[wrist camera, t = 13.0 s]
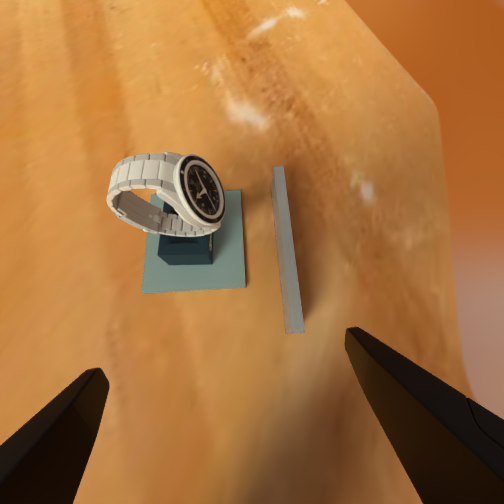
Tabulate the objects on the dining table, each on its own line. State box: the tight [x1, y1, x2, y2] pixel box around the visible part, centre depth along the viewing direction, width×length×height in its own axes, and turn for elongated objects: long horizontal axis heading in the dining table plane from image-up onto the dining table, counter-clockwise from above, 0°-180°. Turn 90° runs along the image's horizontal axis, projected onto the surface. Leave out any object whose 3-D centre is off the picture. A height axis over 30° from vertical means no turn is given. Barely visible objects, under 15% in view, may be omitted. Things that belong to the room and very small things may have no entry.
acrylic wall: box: [271, 166, 305, 333], centre depth 23 cm, size 16×1×4 cm, turn 4°
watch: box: [107, 152, 226, 265], centre depth 19 cm, size 6×8×11 cm
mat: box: [142, 190, 246, 294], centre depth 25 cm, size 11×10×1 cm
